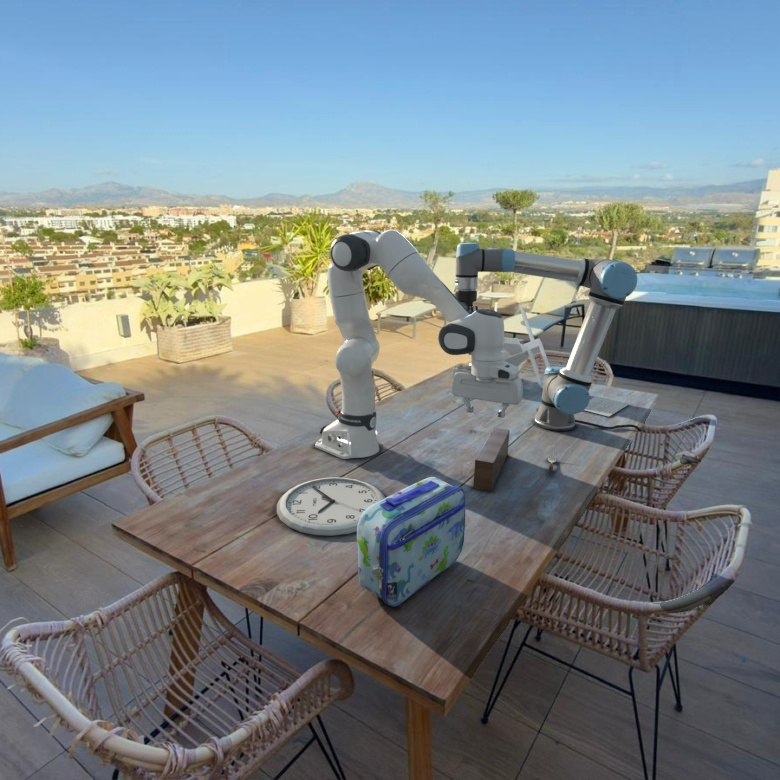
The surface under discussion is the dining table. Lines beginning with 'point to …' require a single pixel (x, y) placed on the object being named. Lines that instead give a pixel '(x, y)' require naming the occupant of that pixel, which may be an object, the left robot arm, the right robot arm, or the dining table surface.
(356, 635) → the dining table surface
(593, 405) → the invitation card
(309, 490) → the wall clock
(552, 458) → the fork
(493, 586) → the dining table surface
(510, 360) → the white plastic object
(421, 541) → the lunch box
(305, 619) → the dining table surface
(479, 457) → the bar
